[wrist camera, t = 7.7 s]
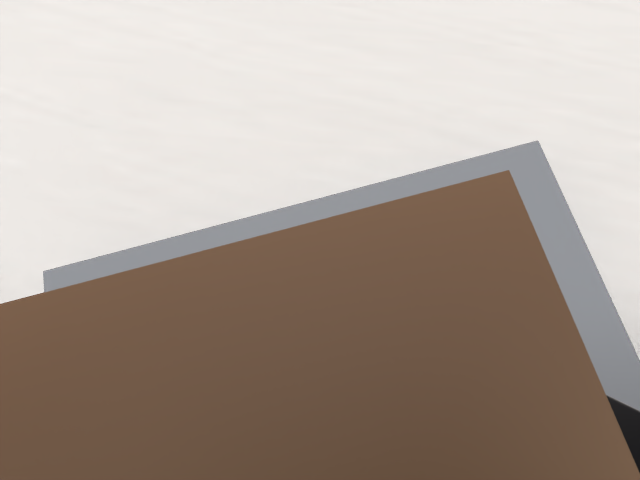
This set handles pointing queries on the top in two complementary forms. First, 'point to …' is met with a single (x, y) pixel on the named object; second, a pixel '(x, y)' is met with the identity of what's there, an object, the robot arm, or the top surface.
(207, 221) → the top surface
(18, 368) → the brown wooden block
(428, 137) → the top surface
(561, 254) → the slate plate
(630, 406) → the robot arm
